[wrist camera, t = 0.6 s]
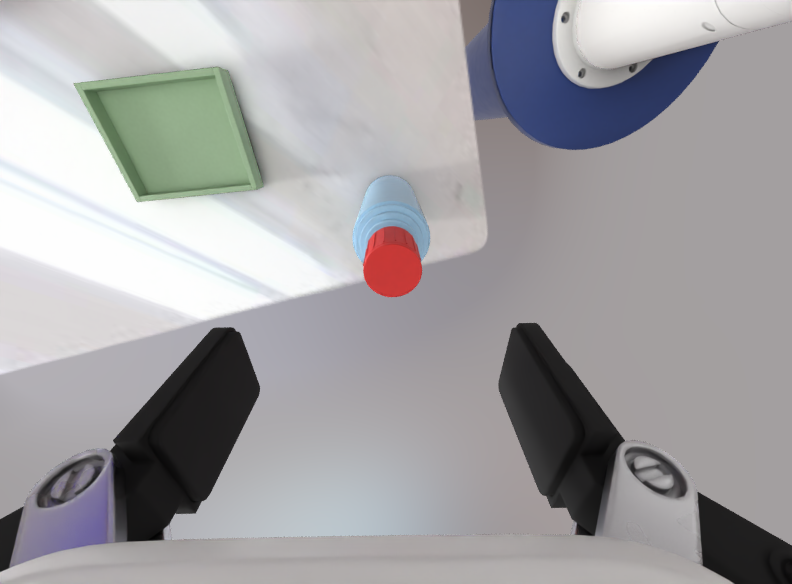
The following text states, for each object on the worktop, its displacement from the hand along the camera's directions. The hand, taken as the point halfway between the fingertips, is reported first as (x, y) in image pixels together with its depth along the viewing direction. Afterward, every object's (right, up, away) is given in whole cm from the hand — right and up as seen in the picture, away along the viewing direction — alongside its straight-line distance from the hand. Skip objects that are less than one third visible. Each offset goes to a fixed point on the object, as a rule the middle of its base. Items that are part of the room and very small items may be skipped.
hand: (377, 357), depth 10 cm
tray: (-23, +19, +22) cm, 37 cm away
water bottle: (0, +14, +26) cm, 29 cm away
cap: (0, +5, +11) cm, 13 cm away
